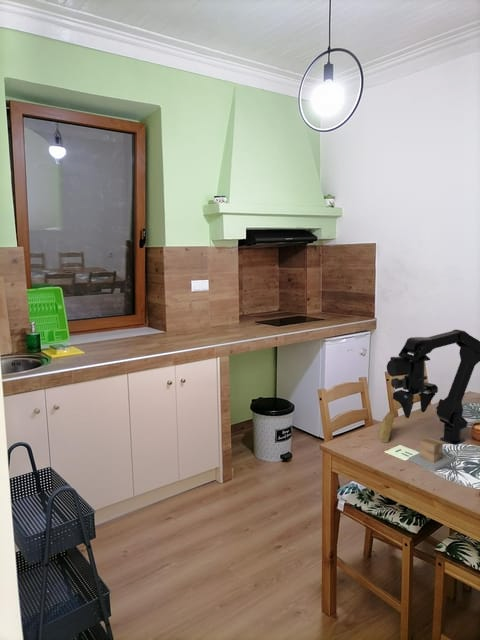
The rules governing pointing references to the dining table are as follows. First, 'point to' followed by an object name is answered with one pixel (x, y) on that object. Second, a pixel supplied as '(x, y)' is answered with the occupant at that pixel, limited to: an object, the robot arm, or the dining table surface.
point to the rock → (386, 427)
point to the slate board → (430, 465)
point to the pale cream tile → (401, 452)
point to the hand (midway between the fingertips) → (415, 414)
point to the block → (431, 450)
